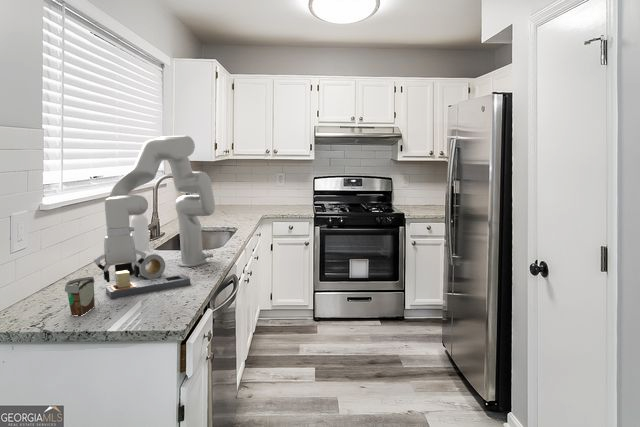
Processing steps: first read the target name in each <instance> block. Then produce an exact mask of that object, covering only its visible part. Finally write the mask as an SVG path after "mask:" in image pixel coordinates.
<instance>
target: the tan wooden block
mask: <svg viewBox="0 0 640 427" xmlns="http://www.w3.org/2000/svg"><path fill="white" fill-rule="evenodd" d="M114 276H115V285H116V289H121V288H127V287H130V282H131V279H130V278H131V277H130V276H131V275H130V274H129V271H127V270H124V271H118V272H115V271H114Z"/></svg>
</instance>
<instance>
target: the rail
mask: <svg viewBox="0 0 640 427" xmlns="http://www.w3.org/2000/svg"><path fill="white" fill-rule="evenodd" d="M191 285H192V284H191V278H190V277H189V276H187V275H185V274H183V273H182V274H181V273H180V274H175V275H169V276H163V277H158V278H155V279H143V280H137V281H130V287H127V288H121V289H116V284H111V285H108V286H107V285H106V286H105V294H106V295H107V296H108V298H109V299H110V298H111V299H110V300H114V298H115V299H119V298H127V297H131V296H136V295H143V294H148V293H155V292H159V291H164V290H169V289H170V290H171V289H176V288H180V287H188V286H191Z"/></svg>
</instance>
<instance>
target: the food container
mask: <svg viewBox="0 0 640 427" xmlns="http://www.w3.org/2000/svg"><path fill="white" fill-rule="evenodd" d="M94 283H95V278H94V276H86V277H85V276H84V277H80V278H75V279H72V280H69V281H67V282H66V283H65V285H64V292H65V293H67V297H68V304H69V309H70V315H71V314H72V315H78V316H81V315H83V314H85V313H86V312H88V311H89V310H90V309H92V308H93V307H94V308H95V307H96V305H95V304H96V302H95V301H96V300H95V284H94ZM94 308H93V309H94ZM93 309H92V310H93ZM89 312H90V311H89ZM89 312H88V313H89ZM72 315H71V316H72Z"/></svg>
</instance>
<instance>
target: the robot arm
mask: <svg viewBox="0 0 640 427" xmlns="http://www.w3.org/2000/svg"><path fill="white" fill-rule="evenodd" d="M195 144H196V143H195V142H194V139H193V138H192V137H191V136H188V135H167V136H165V135H164V136H159V137H156V138H153V139H148V140H146V141H145V142H144V143H143V145H142V147H141V150H140V151H139V154H138V156H137V159H136V161H135V163H134V165H133V167H132V169H131V170H130V171H128V172H127V173H126V174H124V176H122V177H121V178H120V179H119V180H117V182H116V183H115V184H114V185H113V187H112V189H111V192H110V194H109V197H108V198H106V199H104V200H105V201H104V211H105V213H104V214H105V221H106V223H105V224H106V234H107V236H104V243H103V253H102V254H101V255H99V256H97V257H95V258H94V259H93V262H94V263H95V265H96V266H97V268H99V269H100V270H102V271H103V279H104V281H106V283H110V281H111V278H110V271H109V269H110V267H111V266H115V265H118V264H125V263H131V262H133V263H134V264H135V266H134V273H133V275H134V277H135V278H137V279H139V276H141V275H140V269H139V266H140V265H141V264H142V262H143V261H144V259H145V256H146V253H144V252H141V251H138V250H136V249H135V243H134V239H133V236H132V234H131V232H132V231H134V227H130V216H133V215H141V214H145V213H146V212H147V210H148V208H149V202H148V199H147V198H146V197H145V196H143V195H140V194H130V193H131V192H133V191H134V190H135V189H137V188H138V187H141V186H143V185H147V184H148V183H150V182H152V181H154V180H155V178H156V176H157V173H158V172H159V169H160V165H161V163H162V162H163V161H167V163H168V164H169V166H170V170H171V174H172V180H173V184H174V188H175V190H176V192H178V193H181V194H185V195H181V196H179V197H177V199H176V200H175V203H174V204H175V210H176V213H177V219H178V227H179V228H178V230H179V240H180V242H179V243H180V258H181V260H179V261H177V265H178V266H179V267H184V268H185V267H198V266H203V265H205V264H207V260H206V259H211V258H213V257H214V253H209V252H208V253H206V252H203V240H202V225H201V222H200V220H199V218H198V217H210V216H211V215H213V214H214V213H215V210H216V204H215V198H214V197H215V196H214V192H213V191H214V190H213V186H212V180H211V178H210V176H209V175H208V174H207V173H206V172H205V171H199V170H198V171H194V170H193V168H192V165H191V161H190V159H189V157H190V156H191V155H193V153H194V151H195V148H196V146H195ZM136 254H139V255H141V258H140V259H139V260H138V261H136V258H137V257H136ZM102 260H104V263H105V264H102V263H101V261H102Z"/></svg>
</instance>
